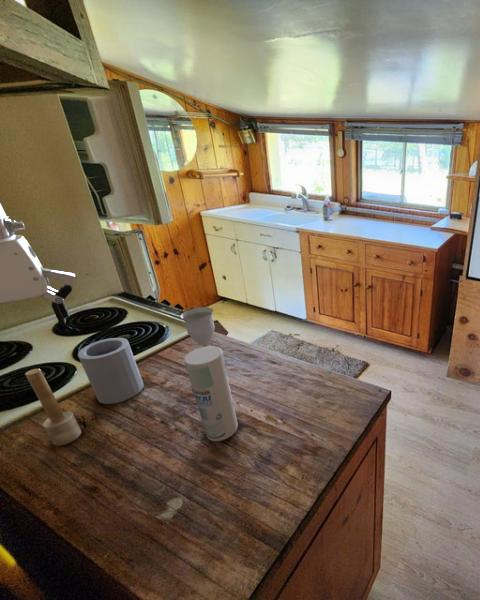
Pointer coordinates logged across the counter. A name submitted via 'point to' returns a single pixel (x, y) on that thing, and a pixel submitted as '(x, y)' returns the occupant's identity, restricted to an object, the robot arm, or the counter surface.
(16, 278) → the robot arm
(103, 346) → the cup
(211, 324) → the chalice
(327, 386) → the counter surface
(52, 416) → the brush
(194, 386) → the spray can
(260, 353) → the counter surface
